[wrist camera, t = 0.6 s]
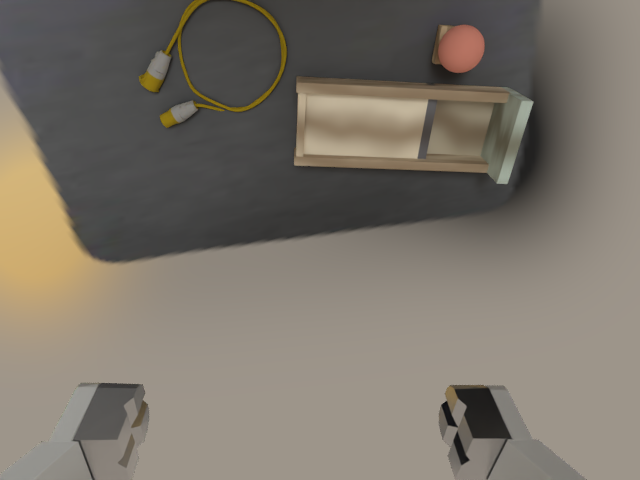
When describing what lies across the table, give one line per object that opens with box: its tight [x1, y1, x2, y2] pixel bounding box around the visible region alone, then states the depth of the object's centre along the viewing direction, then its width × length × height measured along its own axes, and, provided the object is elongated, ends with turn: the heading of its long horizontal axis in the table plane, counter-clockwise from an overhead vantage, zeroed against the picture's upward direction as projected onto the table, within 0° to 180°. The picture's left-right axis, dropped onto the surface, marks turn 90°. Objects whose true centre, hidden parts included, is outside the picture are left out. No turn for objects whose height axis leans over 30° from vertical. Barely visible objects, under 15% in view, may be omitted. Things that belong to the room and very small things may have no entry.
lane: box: [294, 76, 533, 184], centre depth 48 cm, size 9×24×6 cm, turn 87°
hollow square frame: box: [432, 25, 455, 64], centre depth 45 cm, size 4×4×1 cm
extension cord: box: [139, 0, 287, 128], centre depth 45 cm, size 12×16×2 cm
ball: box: [438, 25, 485, 73], centre depth 43 cm, size 4×4×4 cm
